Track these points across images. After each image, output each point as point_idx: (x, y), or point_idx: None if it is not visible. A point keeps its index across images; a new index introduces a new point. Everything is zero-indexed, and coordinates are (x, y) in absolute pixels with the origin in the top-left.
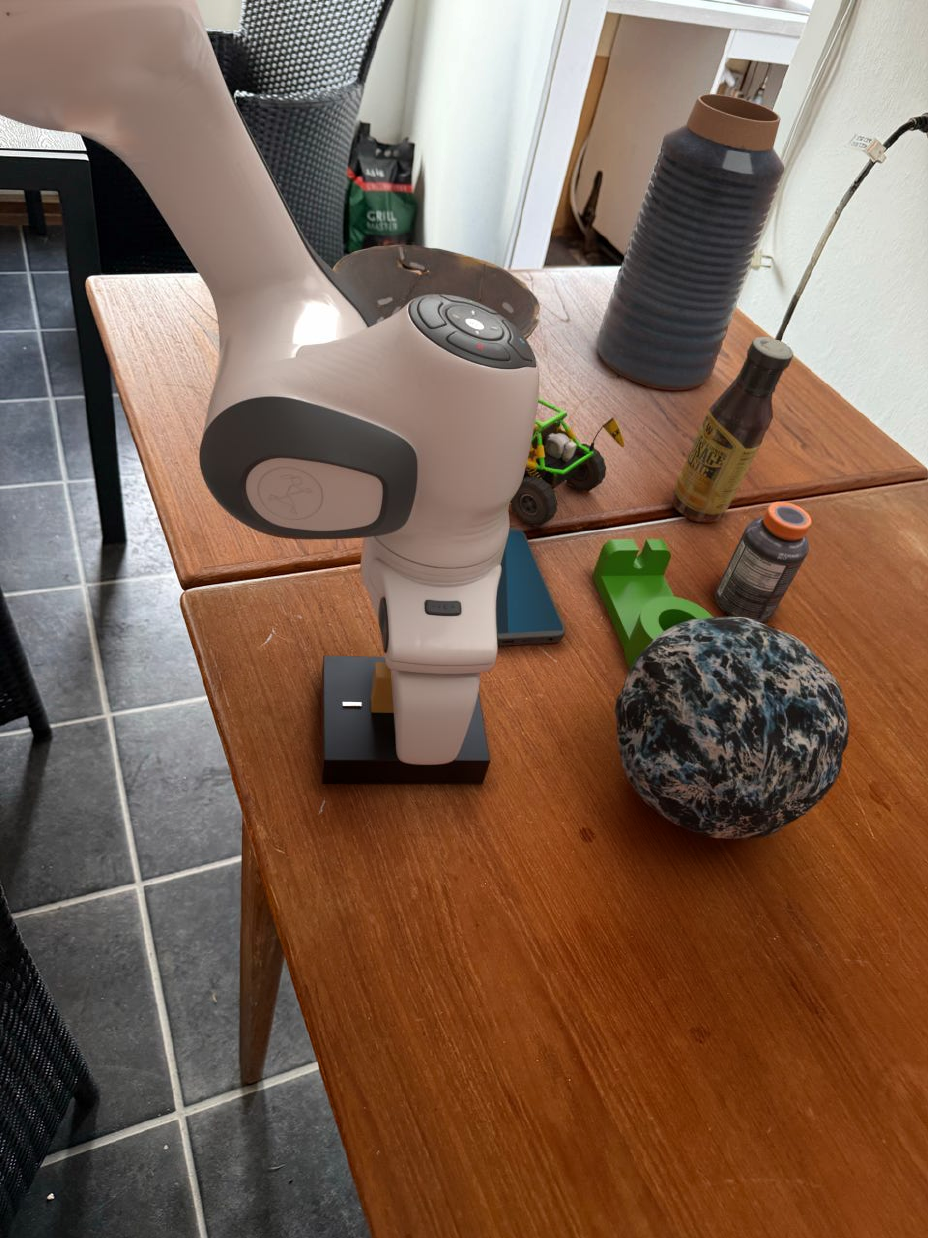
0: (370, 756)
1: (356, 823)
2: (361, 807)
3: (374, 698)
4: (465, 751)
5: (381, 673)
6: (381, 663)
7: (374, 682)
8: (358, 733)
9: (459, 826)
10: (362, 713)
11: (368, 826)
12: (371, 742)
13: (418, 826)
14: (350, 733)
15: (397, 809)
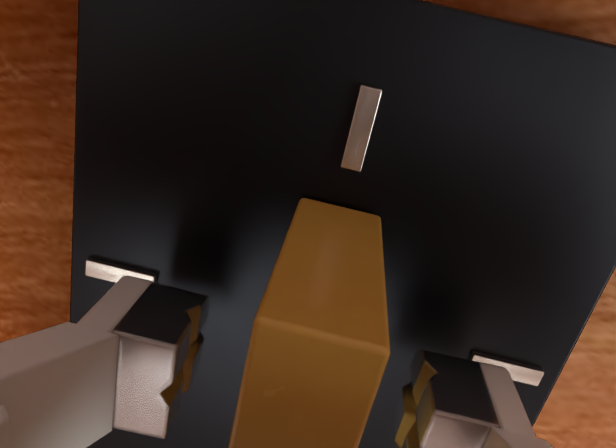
0: (93, 132)
1: (12, 33)
2: (66, 64)
3: (287, 236)
4: None
5: (283, 355)
6: (370, 379)
7: (318, 276)
8: (205, 115)
9: (7, 298)
10: (307, 159)
11: (3, 68)
12: (159, 154)
13: (5, 204)
14: (210, 81)
15: (57, 166)
